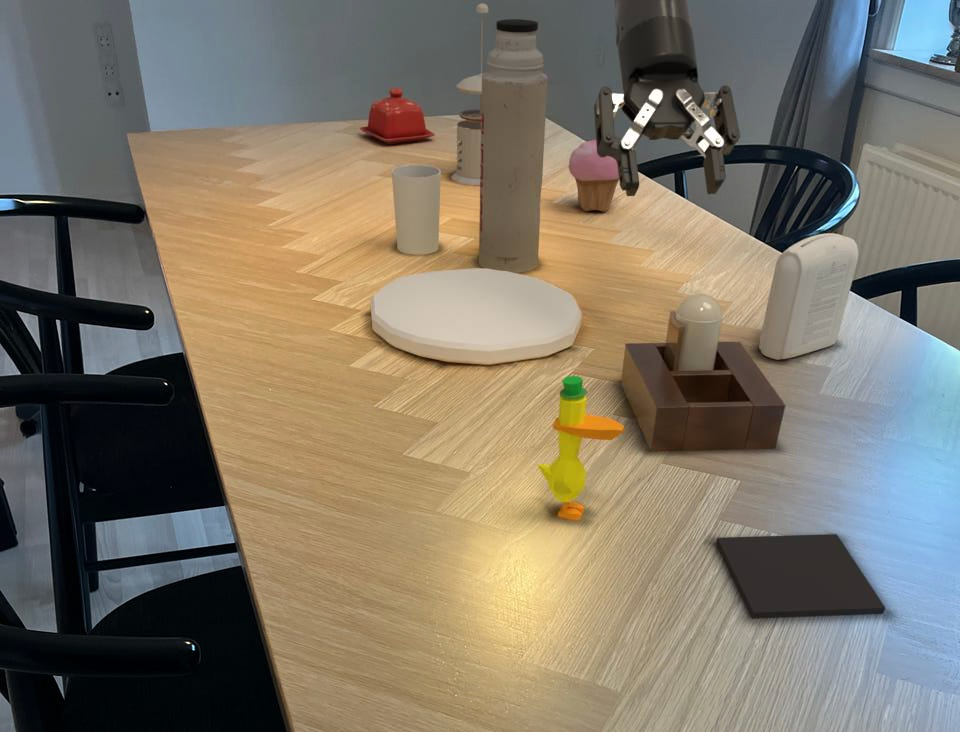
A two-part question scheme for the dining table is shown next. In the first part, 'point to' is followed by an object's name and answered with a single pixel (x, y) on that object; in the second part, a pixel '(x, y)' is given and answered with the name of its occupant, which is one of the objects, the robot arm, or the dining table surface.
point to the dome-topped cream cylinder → (693, 334)
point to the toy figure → (574, 446)
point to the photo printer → (808, 296)
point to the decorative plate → (475, 316)
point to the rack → (701, 401)
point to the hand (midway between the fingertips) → (674, 191)
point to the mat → (798, 576)
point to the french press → (470, 127)
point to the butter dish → (396, 120)
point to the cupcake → (593, 177)
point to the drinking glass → (417, 208)
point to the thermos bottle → (512, 149)
